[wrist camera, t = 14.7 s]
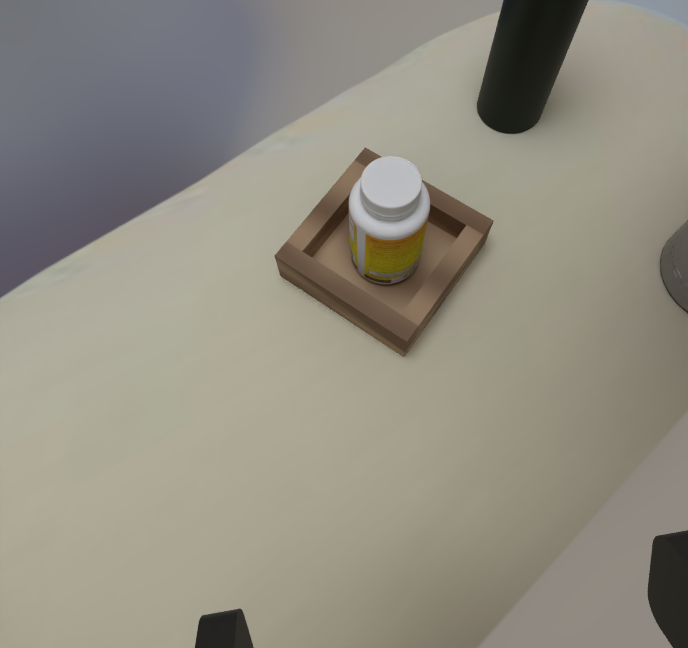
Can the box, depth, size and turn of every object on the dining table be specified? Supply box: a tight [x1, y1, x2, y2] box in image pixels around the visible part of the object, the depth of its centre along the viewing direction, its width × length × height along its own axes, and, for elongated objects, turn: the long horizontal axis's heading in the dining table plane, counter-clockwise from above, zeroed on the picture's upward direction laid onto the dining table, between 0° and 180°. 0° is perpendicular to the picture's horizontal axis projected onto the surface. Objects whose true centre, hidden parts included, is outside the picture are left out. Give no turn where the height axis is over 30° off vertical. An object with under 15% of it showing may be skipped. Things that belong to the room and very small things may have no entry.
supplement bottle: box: [349, 156, 430, 284], centre depth 42 cm, size 6×6×10 cm
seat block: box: [275, 148, 493, 357], centre depth 47 cm, size 12×12×4 cm
